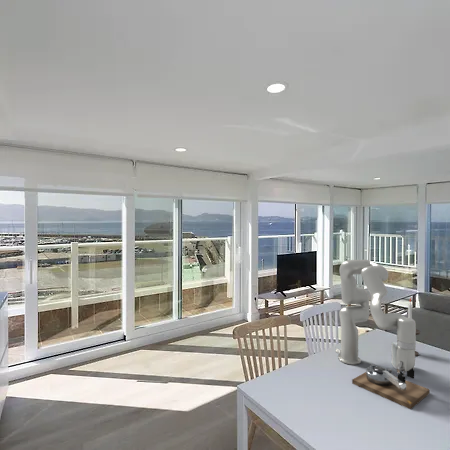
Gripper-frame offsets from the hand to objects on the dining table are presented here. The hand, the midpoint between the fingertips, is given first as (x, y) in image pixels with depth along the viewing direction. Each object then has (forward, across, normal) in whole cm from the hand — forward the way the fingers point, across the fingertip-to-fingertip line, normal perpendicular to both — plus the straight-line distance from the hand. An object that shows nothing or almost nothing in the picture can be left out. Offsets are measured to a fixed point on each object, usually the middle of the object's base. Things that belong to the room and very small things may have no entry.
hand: (406, 380), depth 144 cm
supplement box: (+7, -27, -14) cm, 31 cm away
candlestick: (+7, -52, -19) cm, 56 cm away
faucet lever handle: (+4, +4, -7) cm, 9 cm away
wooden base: (+6, +1, -7) cm, 9 cm away
